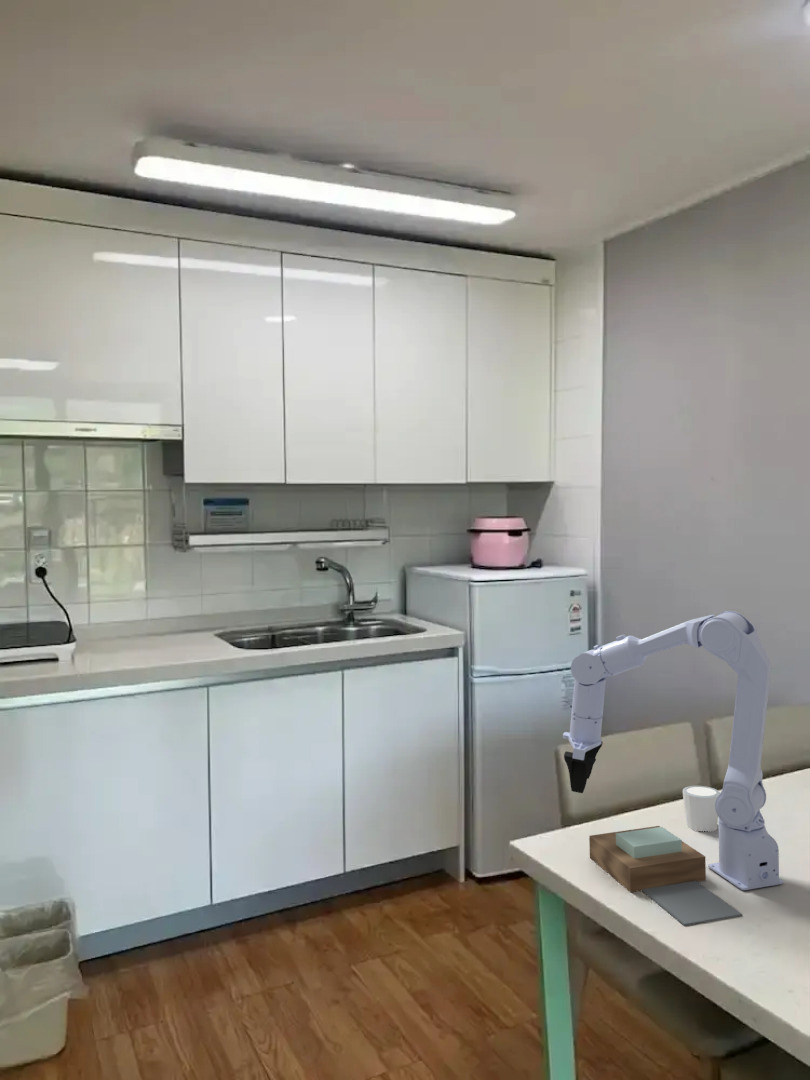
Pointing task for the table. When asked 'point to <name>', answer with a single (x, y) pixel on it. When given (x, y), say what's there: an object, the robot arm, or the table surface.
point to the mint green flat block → (648, 842)
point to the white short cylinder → (700, 807)
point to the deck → (646, 864)
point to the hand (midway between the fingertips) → (580, 784)
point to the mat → (691, 903)
